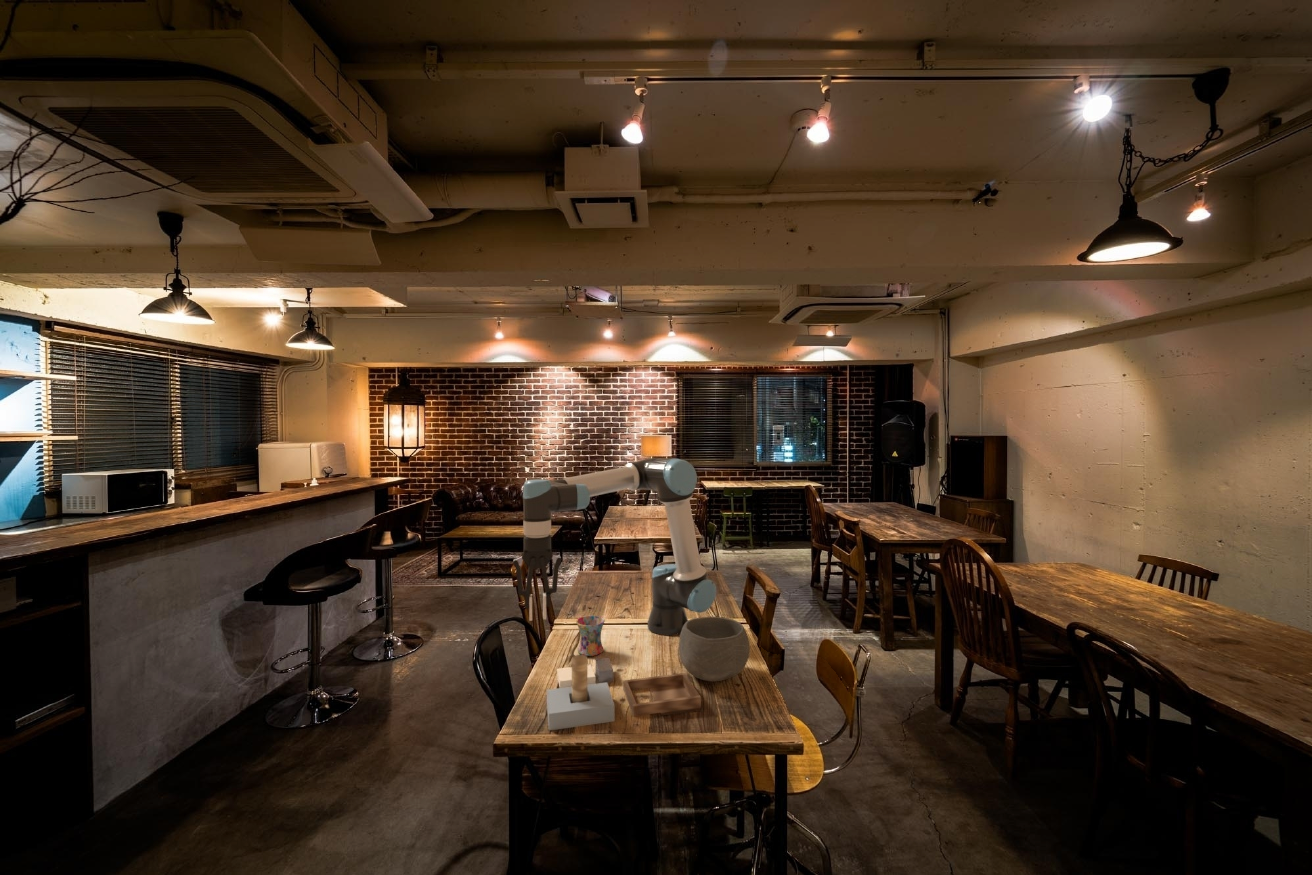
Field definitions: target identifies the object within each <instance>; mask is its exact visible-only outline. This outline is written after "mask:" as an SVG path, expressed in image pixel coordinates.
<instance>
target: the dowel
mask: <svg viewBox="0 0 1312 875" xmlns="http://www.w3.org/2000/svg"><path fill="white" fill-rule="evenodd" d="M587 665H588V656H584V655H581V654H578V655H573V656H572V657H571V667H572V703H578V702H586V701H588V683H587Z"/></svg>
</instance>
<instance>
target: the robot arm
mask: <svg viewBox="0 0 1312 875" xmlns="http://www.w3.org/2000/svg"><path fill="white" fill-rule="evenodd" d="M697 483H698V475H697V472H696V469H695V467H694V466H693V464H691V463H690V462H689V461H687V460H685V459H680V458H676V457H675V458H671V457H669V458H668V457H650V458H646V459H641V460H639V461H634V462H629V463H626V464H625V465H624V466H622V467H617V468H614V469H613V468H612V469H608V470H607V469H606V470H603V471H595V472H591V473H586V474H585V473H584V474H579V475H576V476H570V477H564V478H561V479H560V478H558V479H553V480H549V479H543V478H542V479H536V478H535V479H528V480H526V481H525V482H524V483H523V490H522V491H523V492H522V500H523V502H522V503H523V504H522V505H523V526H522V528H523V529H522V532H523V535H524V537H523V552H522V554H521V556H520V557H518V558H514V559H513V562H512V565H513V566H514V568H515V571H516V572H515V573H516V582H517V585H516V586H517V592H518V595H519V596H522V597H524V607H525V609H528V610H529V620H528V621H529V622H531V621H533V594H531V587H532V581H533V575H534V570H535V569H540V570H541V573H542V579H543V584H544V591H545V592H543V593H542V619H543V620H547V607H550V606H551V595H552V594H554V593H557V590H558V579H559V567H560V564H561V562H562V557H561V555H555V554H553V550H552V536H551V535H550V534H552V513H558V512H569V511H579V510H585V509H586V508H587V507H588V506H589V504H590V502H591V497H595V496H599V495H605V494H609V493H615V492H619V491H623V490H630V491H632V492H633V491H638V490H646V491H647V490H648V491H654V492H657V496H658V501H659V502H660V503H661V504H663V505H664V509H665V513H666V514H665V515H666V519H667V526H668V530H669V535H670V536H669V537H670V540H671V546H672V552H673V557H674V562H675V563H670V564H669V563H668V564H667V563H666V564H662V565H658V566H655V567H653V569H652V575H651V579H652V581H651V582H652V585H651V586H652V587H651V588H652V589H651V590H652V595H651V596H652V605H651V606H652V608H651V610H650V612H649V617H648V620H647V630H648V631H650V632H651V633H653V634H656V635H664V636H674V635H675V636H676V635H680V634H681V631H682V628H683V626H684V624H685V623H686V622H687V621H688V620H689V618H688V616H687V613H686V609H687V610H689V612H695V613H700V614H701V613H705V612H706V611H708V610H709V609H710V608H711V607H712V605H713V603H714V601H715V600H716V597H717V586H716V583H715V582H714V581H713V580H711V579H709V578H708V573H707V569H706V567H705V566H703V565H702V564H701V559H700V553H699V548H698V542H697V537H696V531H695V524H694V519H693V514H692V508H691V502H690V500H691V499H692V498H693V496H694V494H693V491H694V490H695V489H696V487H697V486H696V485H697ZM550 561H552V563H553V571H552V572H553V573H552V582H551V587H550V582H549V578H548V570H547V566H548V564H549V563H550ZM523 562H524V564H526V566H527V567H528V571H527V578H526V584H525V589H523V578H522V567H521V566H522V565H523Z"/></svg>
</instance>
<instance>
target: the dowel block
mask: <svg viewBox="0 0 1312 875" xmlns="http://www.w3.org/2000/svg"><path fill="white" fill-rule="evenodd" d="M615 706H616V705H615V701H614V700H613V697H612V694H611V690H610V686H609V684H608V683H607V682H606V683H599V682H598V683H595V684H589V685H588V701H586V702H578V703H572V687H565V688H560V687H559V688H549V689H548V688H547V689H546V711H547V723H548V724H547V725H548V731H555V730H563V729H569V728H570V729H571V728H577V727H583V726H589V725H597V724H604V723H605V724H606V723H612V722H615V716H616V715H615Z"/></svg>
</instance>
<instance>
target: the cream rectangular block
mask: <svg viewBox="0 0 1312 875" xmlns="http://www.w3.org/2000/svg"><path fill="white" fill-rule="evenodd" d="M556 679H557V681H558V686H559V688H565V687H572V666H569V667H568V666H567V667H562V668H561V667H560V668H556ZM587 683H588V685H589V684H596V673H595V672H594V668H593V666H592V664H587Z"/></svg>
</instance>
